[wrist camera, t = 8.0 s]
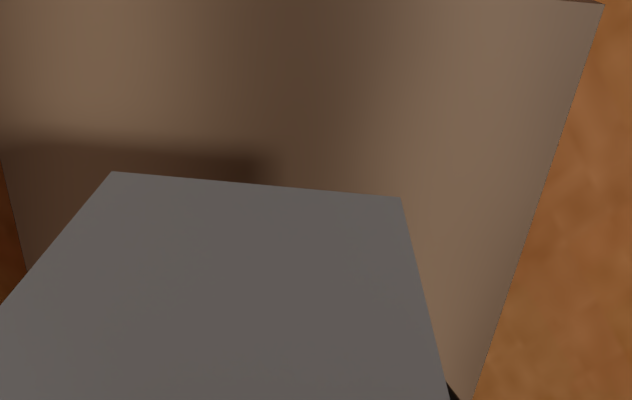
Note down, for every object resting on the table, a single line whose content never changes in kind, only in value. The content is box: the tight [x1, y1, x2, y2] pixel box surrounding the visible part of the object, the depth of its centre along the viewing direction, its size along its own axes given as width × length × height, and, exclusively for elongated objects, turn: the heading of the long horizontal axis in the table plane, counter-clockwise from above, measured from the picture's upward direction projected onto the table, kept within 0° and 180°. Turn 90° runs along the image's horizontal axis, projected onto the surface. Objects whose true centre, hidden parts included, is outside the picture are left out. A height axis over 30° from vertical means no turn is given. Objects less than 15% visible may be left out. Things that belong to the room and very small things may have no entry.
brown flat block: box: [0, 0, 605, 400], centre depth 12 cm, size 11×10×3 cm
